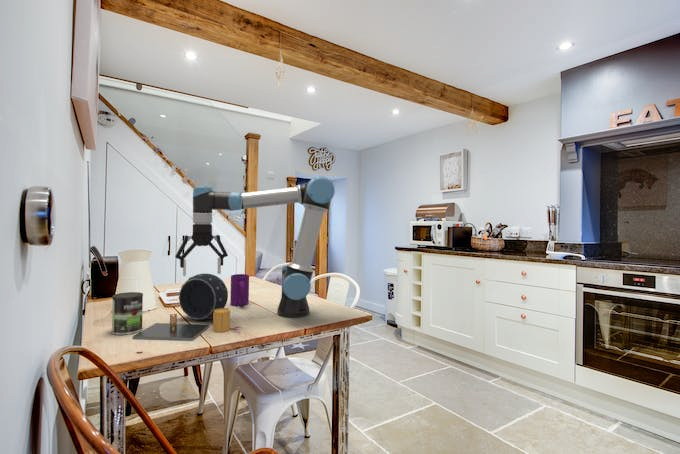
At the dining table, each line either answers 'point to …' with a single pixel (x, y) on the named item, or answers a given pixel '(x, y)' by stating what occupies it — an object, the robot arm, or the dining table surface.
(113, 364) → the dining table surface
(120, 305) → the coffee can
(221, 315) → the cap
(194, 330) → the plate
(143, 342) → the dining table surface
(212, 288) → the studded dark pot
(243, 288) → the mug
